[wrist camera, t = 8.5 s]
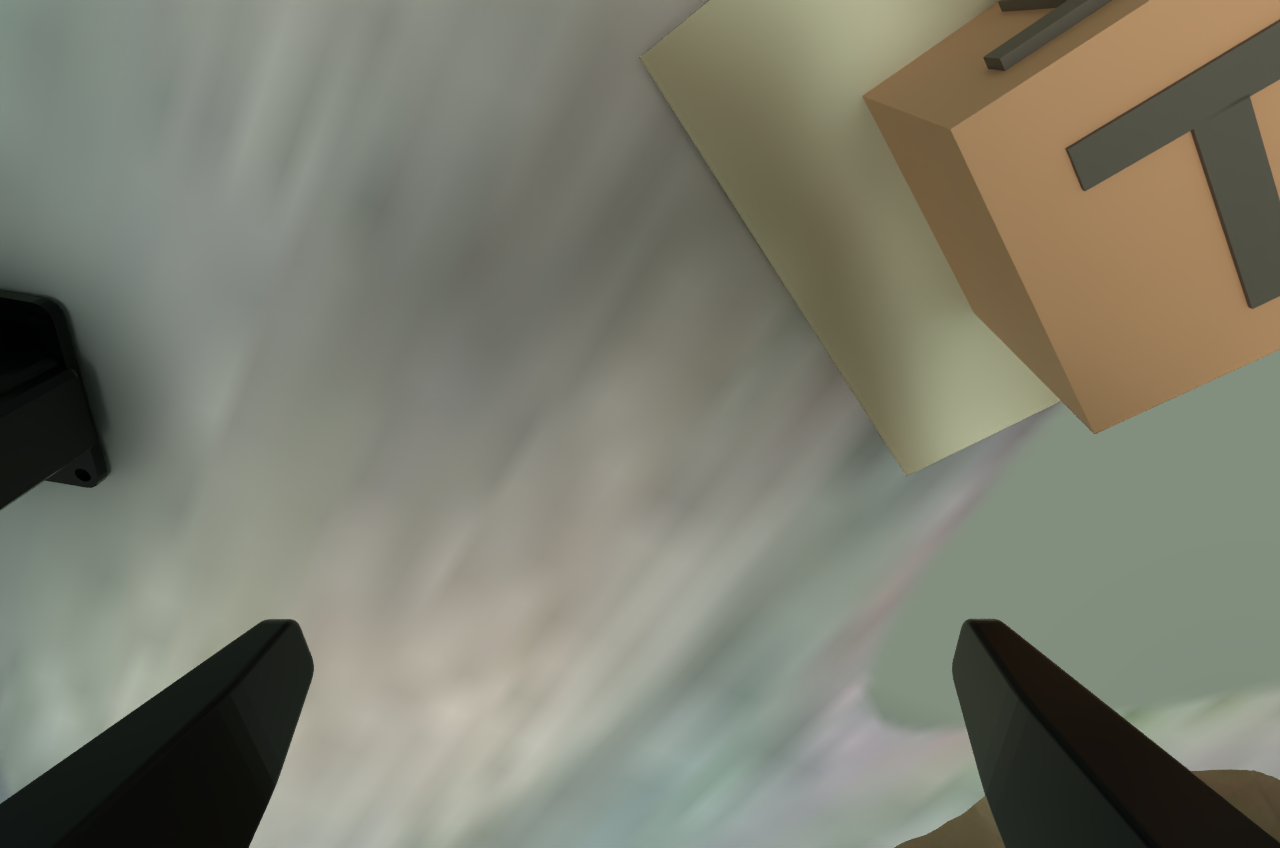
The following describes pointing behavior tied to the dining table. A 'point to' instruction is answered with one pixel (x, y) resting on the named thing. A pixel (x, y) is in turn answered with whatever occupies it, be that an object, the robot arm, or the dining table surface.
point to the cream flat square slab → (845, 205)
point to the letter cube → (1104, 187)
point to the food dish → (1269, 802)
